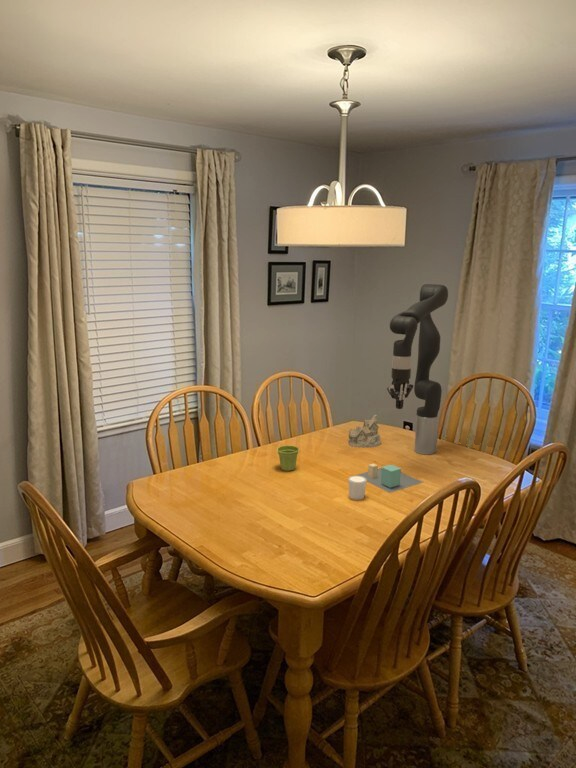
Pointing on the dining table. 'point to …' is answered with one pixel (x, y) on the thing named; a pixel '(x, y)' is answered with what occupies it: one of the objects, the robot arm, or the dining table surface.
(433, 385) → the robot arm
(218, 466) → the dining table surface
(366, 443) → the ceramic cottage
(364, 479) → the white cylinder
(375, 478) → the board
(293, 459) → the plant pot
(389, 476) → the teal block
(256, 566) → the dining table surface
